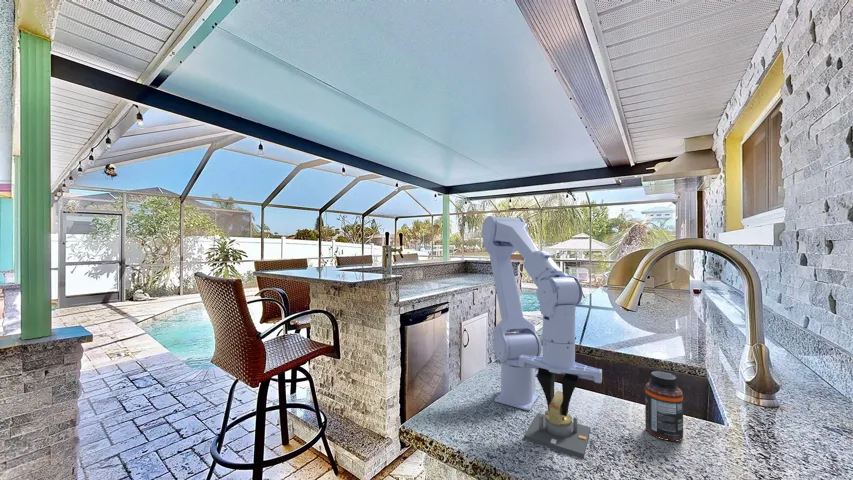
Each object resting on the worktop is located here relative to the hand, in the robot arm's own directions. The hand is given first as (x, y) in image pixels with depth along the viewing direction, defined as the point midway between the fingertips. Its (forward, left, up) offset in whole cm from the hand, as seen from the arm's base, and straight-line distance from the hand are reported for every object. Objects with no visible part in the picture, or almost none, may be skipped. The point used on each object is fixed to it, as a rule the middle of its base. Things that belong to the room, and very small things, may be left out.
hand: (558, 411), depth 63 cm
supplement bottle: (-12, +17, -5) cm, 21 cm away
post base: (0, 0, -4) cm, 4 cm away
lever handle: (0, 0, -1) cm, 1 cm away
